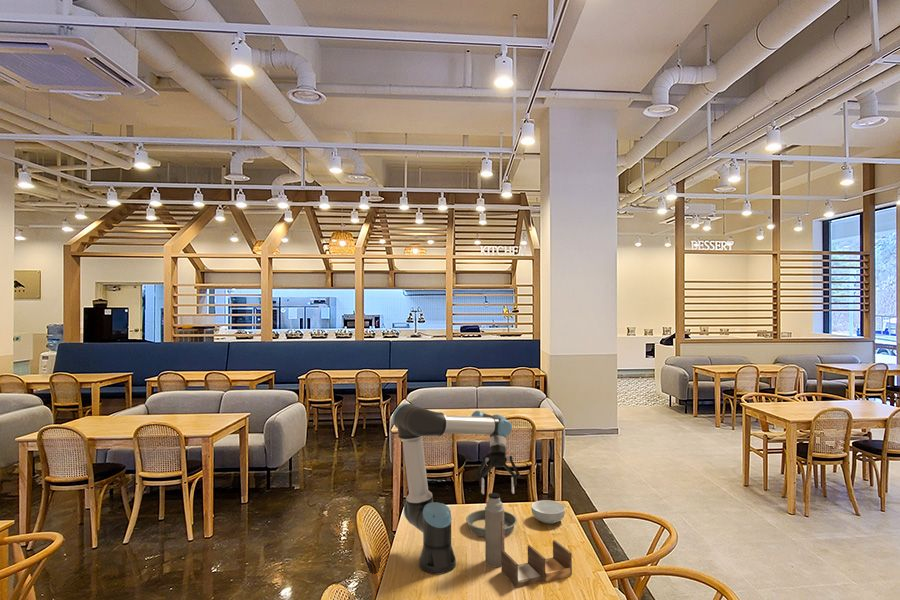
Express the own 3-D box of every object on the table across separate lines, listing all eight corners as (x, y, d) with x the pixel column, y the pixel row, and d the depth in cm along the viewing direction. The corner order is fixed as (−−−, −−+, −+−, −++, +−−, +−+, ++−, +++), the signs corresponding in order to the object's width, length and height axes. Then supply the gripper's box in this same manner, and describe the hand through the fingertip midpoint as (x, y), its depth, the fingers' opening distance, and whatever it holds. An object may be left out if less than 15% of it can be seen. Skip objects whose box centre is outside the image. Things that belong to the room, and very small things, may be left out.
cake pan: (516, 518, 250) (516, 509, 251) (517, 540, 226) (517, 530, 226) (467, 516, 253) (467, 508, 253) (464, 538, 229) (464, 528, 229)
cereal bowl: (527, 514, 255) (527, 500, 255) (558, 512, 257) (558, 499, 257) (537, 528, 238) (536, 513, 238) (570, 526, 240) (570, 512, 240)
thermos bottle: (507, 560, 207) (507, 493, 208) (499, 569, 200) (498, 499, 201) (490, 555, 211) (490, 489, 212) (482, 563, 205) (481, 495, 206)
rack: (516, 588, 186) (516, 565, 187) (501, 572, 198) (501, 550, 198) (572, 575, 195) (572, 553, 195) (555, 560, 207) (554, 540, 207)
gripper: (525, 449, 233) (526, 495, 220) (473, 451, 239) (472, 496, 226) (523, 443, 228) (524, 489, 214) (470, 445, 233) (468, 490, 220)
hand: (497, 493), depth 220 cm, fingers open, 13 cm apart
